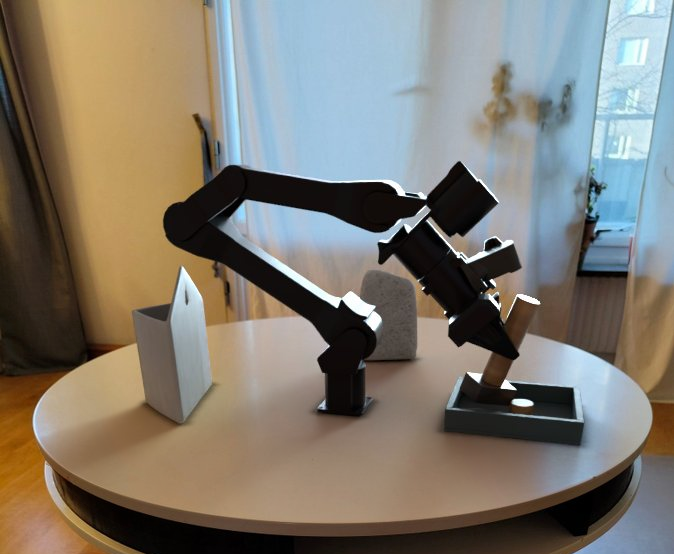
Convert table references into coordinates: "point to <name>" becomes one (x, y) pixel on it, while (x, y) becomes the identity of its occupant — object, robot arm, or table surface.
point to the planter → (174, 351)
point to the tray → (544, 425)
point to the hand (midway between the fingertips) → (516, 354)
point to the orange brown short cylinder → (521, 407)
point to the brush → (501, 359)
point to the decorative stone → (392, 313)
